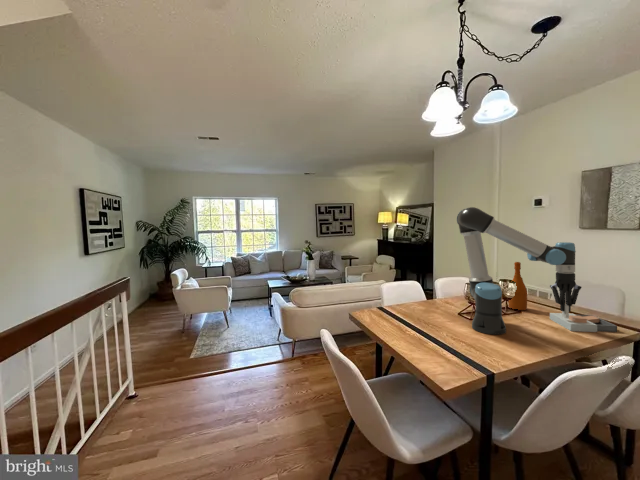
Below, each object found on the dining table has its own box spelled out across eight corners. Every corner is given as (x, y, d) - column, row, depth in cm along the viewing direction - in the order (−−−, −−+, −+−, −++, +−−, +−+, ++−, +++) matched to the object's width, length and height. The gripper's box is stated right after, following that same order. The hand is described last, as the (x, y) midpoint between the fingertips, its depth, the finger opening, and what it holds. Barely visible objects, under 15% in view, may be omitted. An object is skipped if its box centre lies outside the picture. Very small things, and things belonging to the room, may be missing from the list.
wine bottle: (530, 311, 169) (530, 262, 168) (512, 310, 171) (512, 263, 170) (522, 306, 179) (522, 260, 177) (505, 306, 181) (505, 261, 179)
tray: (596, 331, 136) (596, 325, 136) (573, 319, 152) (573, 314, 152) (617, 331, 134) (617, 325, 134) (592, 320, 150) (592, 315, 150)
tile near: (575, 322, 139) (575, 318, 139) (568, 319, 144) (568, 315, 144) (586, 322, 138) (586, 318, 138) (579, 319, 143) (579, 315, 143)
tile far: (599, 318, 144) (599, 322, 144) (592, 315, 149) (592, 319, 149) (587, 319, 145) (588, 323, 145) (581, 316, 150) (582, 320, 150)
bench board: (570, 330, 137) (570, 324, 137) (549, 318, 155) (549, 312, 154) (597, 332, 134) (597, 325, 134) (572, 319, 152) (572, 313, 152)
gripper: (554, 273, 139) (555, 319, 140) (585, 273, 136) (585, 320, 137) (546, 271, 146) (546, 314, 147) (575, 271, 143) (575, 315, 144)
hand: (565, 317), depth 142 cm, fingers closed
